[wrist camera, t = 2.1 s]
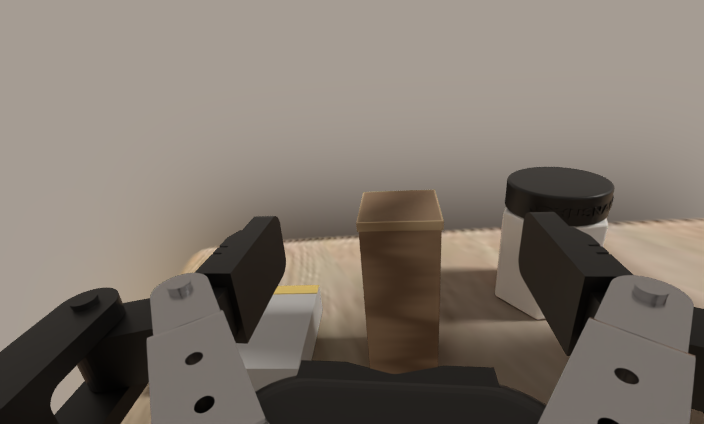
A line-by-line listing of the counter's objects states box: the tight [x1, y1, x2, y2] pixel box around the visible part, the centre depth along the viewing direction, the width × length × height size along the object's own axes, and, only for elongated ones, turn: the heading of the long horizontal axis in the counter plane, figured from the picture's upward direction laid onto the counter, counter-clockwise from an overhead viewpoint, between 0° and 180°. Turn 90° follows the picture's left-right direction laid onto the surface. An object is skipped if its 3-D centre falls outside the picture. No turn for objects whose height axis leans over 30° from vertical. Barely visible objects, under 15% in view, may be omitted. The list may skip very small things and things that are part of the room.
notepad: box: [236, 285, 323, 391], centre depth 31 cm, size 10×10×3 cm
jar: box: [495, 167, 614, 320], centre depth 33 cm, size 9×8×12 cm
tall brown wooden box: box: [356, 190, 444, 374], centre depth 26 cm, size 5×5×14 cm
